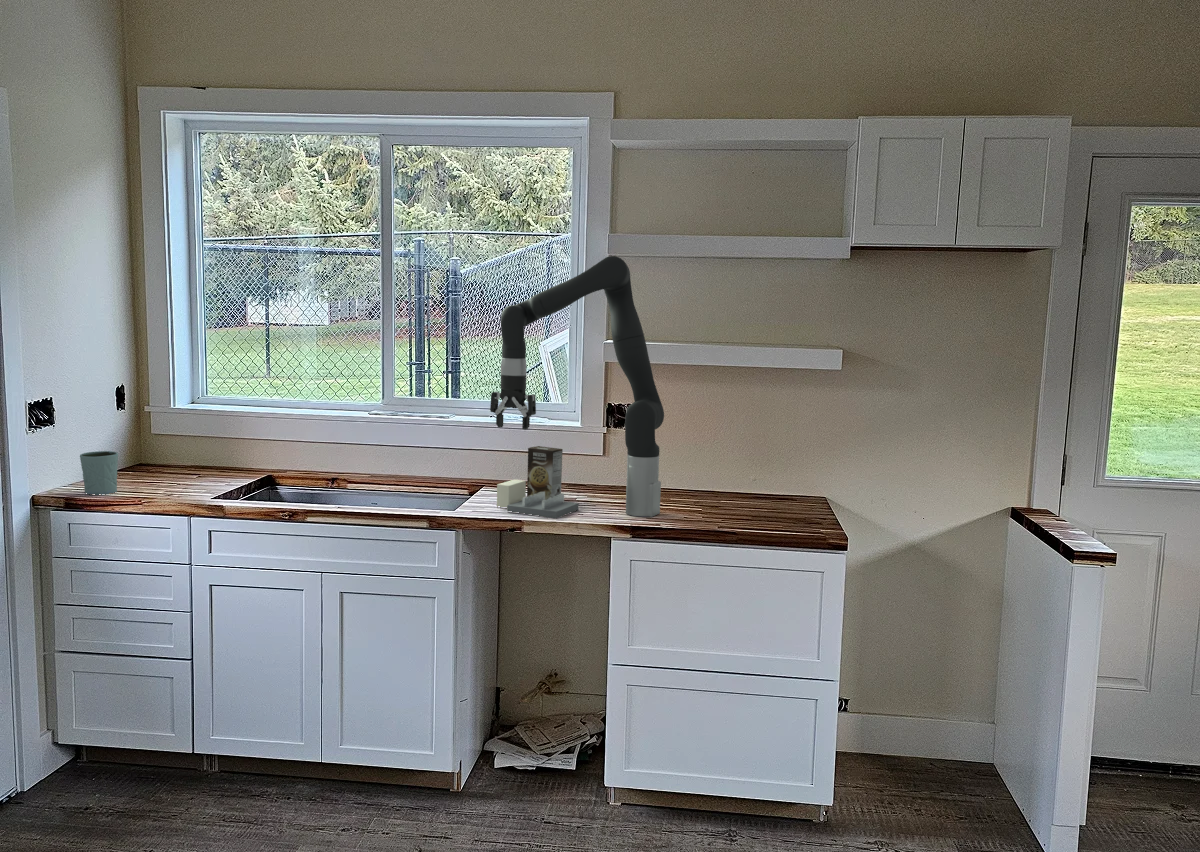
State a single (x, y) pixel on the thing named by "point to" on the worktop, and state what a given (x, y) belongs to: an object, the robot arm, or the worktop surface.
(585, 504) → the worktop surface
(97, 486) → the green cup
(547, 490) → the coffee box
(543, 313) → the robot arm
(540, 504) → the book rack
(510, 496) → the block
